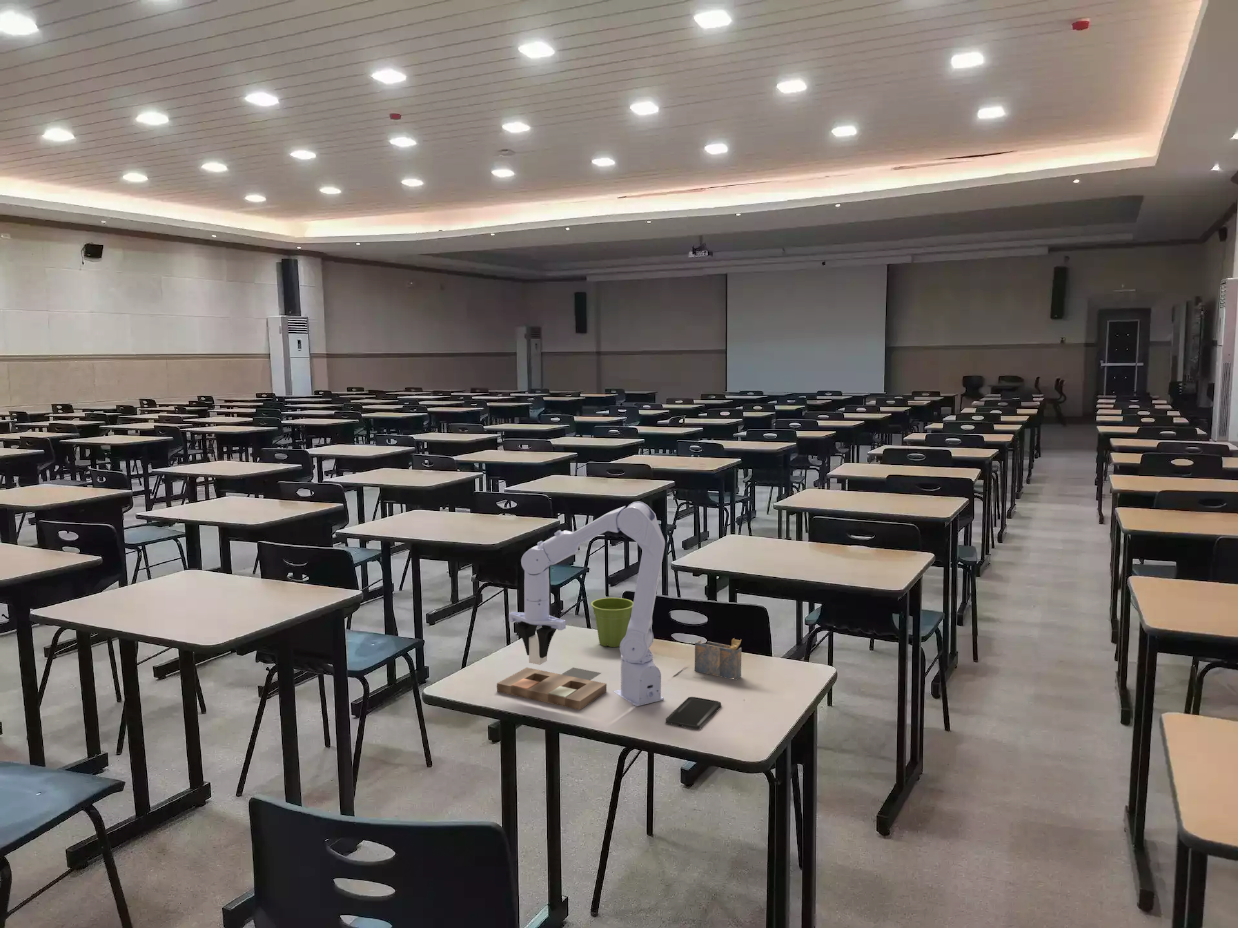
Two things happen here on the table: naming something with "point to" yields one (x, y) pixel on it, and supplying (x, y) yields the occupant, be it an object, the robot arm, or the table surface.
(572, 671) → the grey square plate
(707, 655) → the weathered storage box
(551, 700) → the socket block
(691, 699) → the phone
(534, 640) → the plug
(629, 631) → the robot arm
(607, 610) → the plant pot
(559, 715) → the table surface
